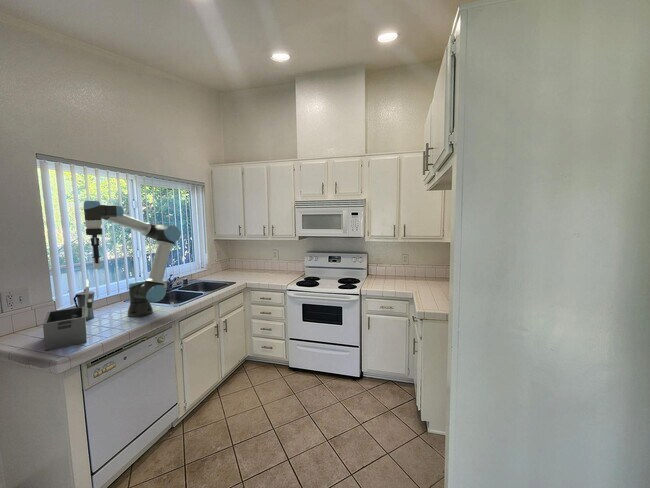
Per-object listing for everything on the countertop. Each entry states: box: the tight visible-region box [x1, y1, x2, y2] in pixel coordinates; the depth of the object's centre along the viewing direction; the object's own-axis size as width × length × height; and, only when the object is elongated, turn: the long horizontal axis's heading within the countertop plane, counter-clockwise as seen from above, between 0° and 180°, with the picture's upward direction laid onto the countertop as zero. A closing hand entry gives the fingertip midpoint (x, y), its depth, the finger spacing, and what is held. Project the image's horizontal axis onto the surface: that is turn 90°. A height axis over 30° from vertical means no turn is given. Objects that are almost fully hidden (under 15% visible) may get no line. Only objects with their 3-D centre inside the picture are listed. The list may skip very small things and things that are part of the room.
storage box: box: [42, 306, 88, 352], centre depth 162 cm, size 16×30×14 cm, turn 39°
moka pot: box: [73, 288, 95, 321], centre depth 197 cm, size 10×15×20 cm, turn 2°
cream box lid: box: [84, 278, 93, 317], centre depth 166 cm, size 16×34×3 cm
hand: (97, 268), depth 171 cm, fingers closed
